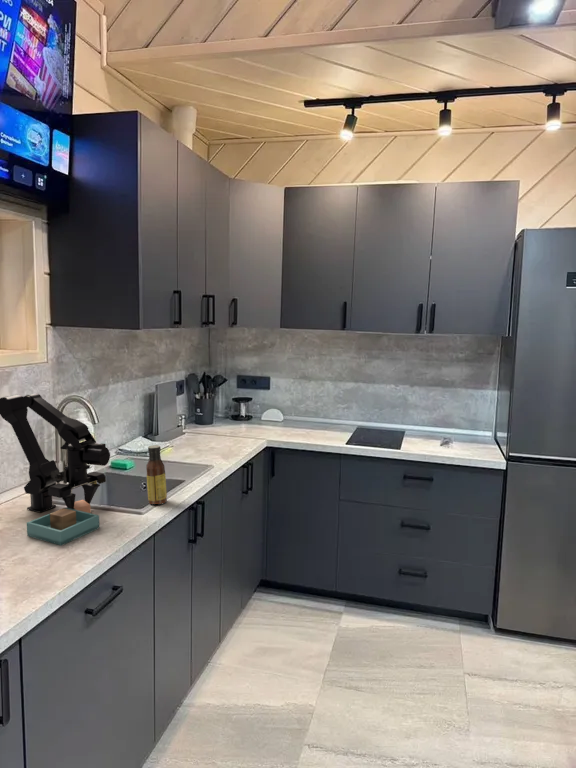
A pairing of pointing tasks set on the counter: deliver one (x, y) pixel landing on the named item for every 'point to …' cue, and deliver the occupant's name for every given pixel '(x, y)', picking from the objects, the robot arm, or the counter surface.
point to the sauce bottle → (156, 477)
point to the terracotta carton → (82, 506)
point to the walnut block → (62, 519)
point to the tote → (60, 537)
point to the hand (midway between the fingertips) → (79, 509)
